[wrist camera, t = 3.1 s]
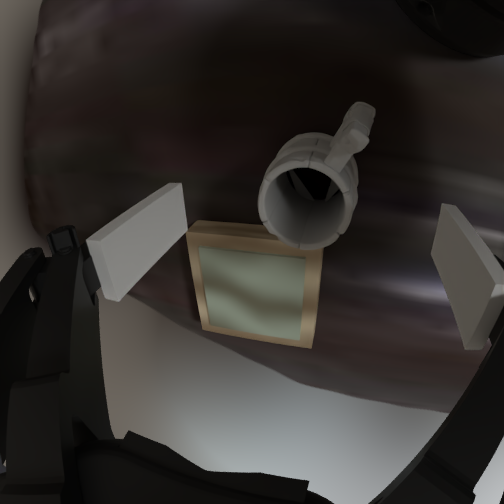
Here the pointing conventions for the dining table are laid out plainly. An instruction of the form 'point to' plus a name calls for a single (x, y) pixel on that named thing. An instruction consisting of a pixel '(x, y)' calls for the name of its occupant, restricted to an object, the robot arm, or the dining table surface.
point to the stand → (254, 283)
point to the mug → (299, 199)
